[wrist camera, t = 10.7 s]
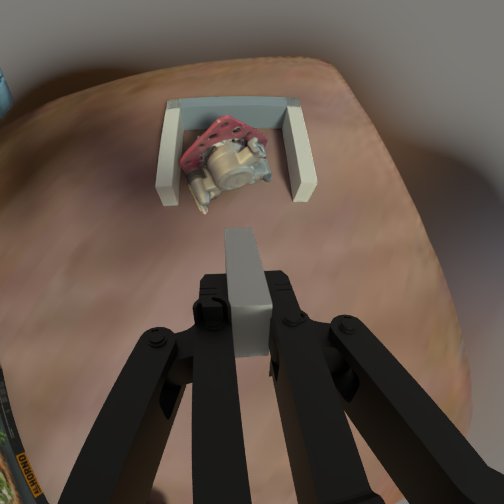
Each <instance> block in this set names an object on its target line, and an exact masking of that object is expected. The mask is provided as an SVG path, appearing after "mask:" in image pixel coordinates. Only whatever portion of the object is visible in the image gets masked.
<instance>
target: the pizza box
mask: <svg viewBox="0 0 504 504" xmlns="http://www.w3.org/2000/svg"><path fill="white" fill-rule="evenodd" d="M0 504H49V503H48V501H47V499H46V497H45V495H44V494H43V492H42V490H41V487H40V485H39V483H38V481H37V479H36V477H35V475H34V472H33V470H32V468H31V465H30V463H29V461H28V458H27V456H26V453H25V450H24V448H23V445H22V442H21V439H20V436H19V433H18V430H17V427H16V424H15V421H14V417H13V414H12V410H11V407H10V403H9V399H8V395H7V390H6V386H5V381H4V376H3V371H2V369H0Z"/></svg>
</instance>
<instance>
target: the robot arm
mask: <svg viewBox="0 0 504 504" xmlns="http://www.w3.org/2000/svg"><path fill="white" fill-rule="evenodd" d="M12 106H13V97H12V94H11V92H10V90H9V88H8V86H7V83H6V81H5V78H4V76H3V74H2V71H1V68H0V120H1V118H3V117H4V116H5V115H6V113H7V112H8V111H9V110H10V109H11V107H12ZM224 232H225V262H226V274H205V275H204V277H203V278H202V279H201V281H200V291H199V299H198V300H197V301H196V302H195V303H194V305H193V314H194V321H195V324H194V325H193V326H192V327H191V328H189V329H188V330H185V331H182V332H179V333H175V334H174V333H173V332H172V331H171V330H170V329H167V328H165V327H155V328H151V329H149V330H147V331H145V332H144V333H143V334H142V336H141V337H140V339H139V340H138V342H137V344H136V346H135V347H134V349H133V351H132V353H131V354H130V356H129V358H128V360H127V362H126V363H125V365H124V367H123V369H122V371H121V373H120V374H119V376H118V378H117V380H116V382H115V384H114V386H113V388H112V389H111V391H110V393H109V395H108V397H107V399H106V401H105V403H104V405H103V407H102V409H101V411H100V413H99V415H98V417H97V419H96V421H95V423H94V425H93V427H92V429H91V431H90V433H89V435H88V437H87V439H86V441H85V443H84V445H83V447H82V449H81V451H80V454H79V456H78V458H77V460H76V462H75V464H74V467H73V469H72V471H71V473H70V476H69V478H68V480H67V482H66V485H65V487H64V489H63V492H62V494H61V496H60V499H59V501H58V504H146V503H147V500H148V497H149V494H150V491H151V488H152V485H153V482H154V479H155V476H156V473H157V470H158V467H159V464H160V461H161V458H162V455H163V452H164V449H165V446H166V443H167V440H168V437H169V434H170V431H171V428H172V425H173V422H174V420H175V417H176V414H177V411H178V408H179V405H180V402H181V399H182V396H183V394H184V391H185V388H186V384H189V383H192V382H193V384H192V485H193V504H252V502H251V495H250V487H249V480H248V472H247V464H246V456H245V448H244V439H243V430H242V422H241V413H240V403H239V394H238V384H237V374H236V364H235V358H237V357H253V356H266V355H269V350H270V355H271V361H270V371H269V377H270V376H272V377H273V382H274V387H275V392H276V397H277V402H278V407H279V412H280V417H281V422H282V427H283V432H284V437H285V442H286V447H287V452H288V457H289V462H290V467H291V472H292V476H293V481H294V486H295V491H296V496H297V501H298V504H385V502H384V500H383V499H382V498H381V496H380V495H378V494H376V493H374V492H373V491H372V490H371V488H370V485H369V483H368V479H367V476H366V473H365V470H364V467H363V464H362V461H361V458H360V455H359V452H358V449H357V446H356V444H355V441H354V438H353V435H352V432H351V429H350V426H349V423H348V421H347V418H346V415H345V412H346V414H347V415H348V417H349V418H350V420H351V421H352V422H353V424H354V425H355V427H356V428H357V430H358V431H359V433H360V434H361V436H362V437H363V438H364V440H365V441H366V443H367V444H368V446H369V447H370V448H371V450H372V451H373V453H374V454H375V456H376V457H377V459H378V460H379V461H380V463H381V464H382V466H383V467H384V469H385V470H386V471H387V473H388V474H389V476H390V477H391V478H392V480H393V481H394V483H395V484H396V486H397V487H398V488H399V490H400V491H401V493H402V494H403V495H404V497H405V498H406V500H407V501H408V502H409V504H504V475H503V474H501V473H500V472H498V471H496V470H494V469H492V468H490V467H488V466H487V464H486V463H485V462H484V461H483V459H482V458H481V457H480V456H479V455H478V453H477V452H476V451H475V449H474V448H473V447H472V446H471V445H470V443H468V441H467V440H466V439H465V437H464V436H463V435H462V434H461V433H460V431H459V430H458V429H457V428H456V427H455V425H454V424H453V423H452V422H451V421H450V420H449V418H448V417H447V416H446V415H445V414H444V413H443V411H442V410H441V409H440V408H439V407H438V406H437V404H436V403H435V402H434V401H433V400H432V399H431V397H430V396H429V395H428V394H427V393H426V392H425V391H424V390H423V388H422V387H421V386H420V385H419V384H418V383H417V382H416V380H415V379H414V378H413V377H412V376H411V375H410V374H409V373H408V372H407V370H406V369H405V368H404V367H403V366H402V365H401V364H400V363H399V362H398V360H397V359H396V358H395V357H394V356H393V355H392V354H391V353H390V352H389V351H388V349H387V348H386V347H385V346H384V345H383V344H382V343H381V342H380V341H379V340H378V339H377V338H376V336H375V335H374V334H373V333H372V332H371V331H370V330H369V329H368V328H367V327H366V326H365V325H364V324H363V323H362V321H360V320H359V319H358V318H356V317H353V316H351V315H339V316H337V317H335V318H333V320H332V321H331V324H330V323H322V322H317V321H313V320H311V319H310V318H309V317H308V315H307V314H306V313H305V312H303V311H302V310H300V307H299V304H298V302H297V299H296V296H295V294H294V291H293V288H292V286H291V284H290V281H289V278H288V276H287V275H286V274H285V273H284V272H283V271H281V270H277V271H264V270H263V267H262V263H261V259H260V255H259V252H258V248H257V244H256V240H255V237H254V233H253V229H252V228H224ZM344 411H345V412H344Z"/></svg>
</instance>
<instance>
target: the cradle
mask: <svg viewBox="0 0 504 504" xmlns="http://www.w3.org/2000/svg"><path fill="white" fill-rule="evenodd" d="M225 115H229V116H232V117H233V118H235V119H237V120H239V121H241V122H243V123H245V124H247V125H249V126H251V127H252V128H282V132H283V138H284V144H285V151H286V157H287V163H288V170H289V177H290V184H291V191H292V198H293V202H308V200H309V198H310V196H311V194H312V192H313V190H314V189H315V187H316V185H317V177H316V172H315V167H314V163H313V158H312V153H311V148H310V144H309V139H308V135H307V131H306V126H305V122H304V118H303V114H302V110H301V106H300V102H299V98H286V97H261V96H227V97H202V98H187V99H175V100H168V101H167V107H166V112H165V118H164V124H163V130H162V137H161V144H160V151H159V159H158V167H157V175H156V184H155V188H156V190H157V192H158V195H159V197H160V199H161V201H162V203H163V206H175V205H179V188H180V172H181V167H180V165H179V161H180V159H181V158H182V146H183V135H184V130H199V129H208V128H209V127H210V126H211V125H212V124H213V123H214V122H215V121H216V120H217V119H218V118H220V117H221V116H225Z"/></svg>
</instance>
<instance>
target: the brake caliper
mask: <svg viewBox="0 0 504 504" xmlns="http://www.w3.org/2000/svg"><path fill="white" fill-rule="evenodd" d="M237 128H240V130H239V131H237ZM246 133H247V134H246ZM213 134H216V136H215V137H213V138H209V136H211V135H213ZM237 140H240V142H237ZM243 142H244V143H243ZM266 143H267V137H266V136H265V135H264V134H263V133H261V132H259V131H257V130H255V129H254V128H252V127H251V126H249V125H247V124H245V123H243V122H241V121H239V120H237V119H235V118H233V117H232V116H229V115H225V116H221V117H220V118H218V119H217V120H216V121H215V122H214V123H213V124H212V125H211V126H210V127H209V128H208V129H207V130H206V131H205V132H204V133H203V134H202V135H201V136H197V140H196V141H195V142H194V143H193V145H191V146H190V147H189V148H188V150H187V151H186V152H185V153H184V155H183V156H182V158H181V159H180V161H179V165H180V167H181V168H182V169H183V171H184V173H185V175H186V177H187V180H188V187H189V190H190V191H191V193H192V194H193V197H194V199H195V202H196V205H197V206H198V208H199V210H200V211H202V213H203V214H206V213H207V212H208V208H207V206H206V205H207V204H208V203H209V201H210V200H213V199H215V198H217V197H218V196H219V195H220V194H221V192H222V191H228V190H233V189H237V188H239V187H241V186H243V185H245V184H249V185H252V184H254V183H255V182H256V181H259V180H261V179H262V180H264V181H266V182H270V181H271V180H272V177H271V170H270V168H269V166H268V162H267V159H266V158H265V157H266V151H265V148H264V147H265V145H266Z"/></svg>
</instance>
